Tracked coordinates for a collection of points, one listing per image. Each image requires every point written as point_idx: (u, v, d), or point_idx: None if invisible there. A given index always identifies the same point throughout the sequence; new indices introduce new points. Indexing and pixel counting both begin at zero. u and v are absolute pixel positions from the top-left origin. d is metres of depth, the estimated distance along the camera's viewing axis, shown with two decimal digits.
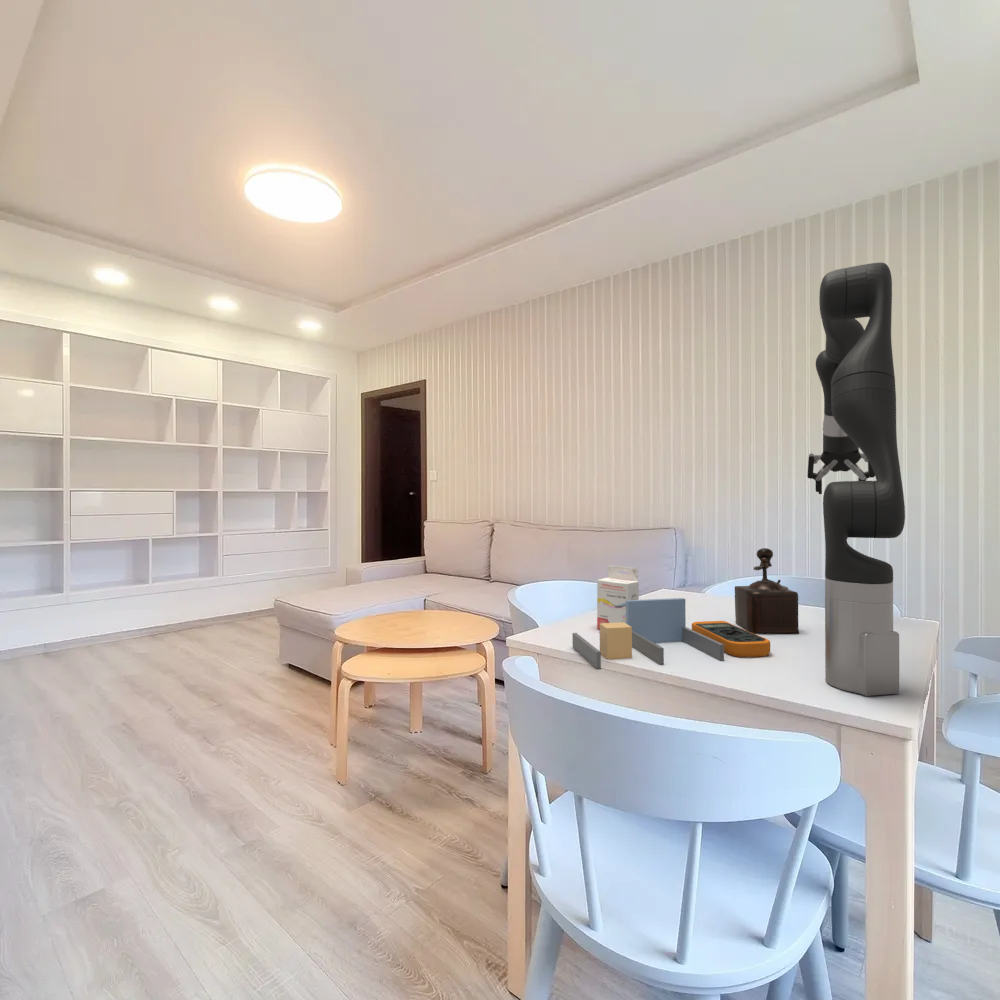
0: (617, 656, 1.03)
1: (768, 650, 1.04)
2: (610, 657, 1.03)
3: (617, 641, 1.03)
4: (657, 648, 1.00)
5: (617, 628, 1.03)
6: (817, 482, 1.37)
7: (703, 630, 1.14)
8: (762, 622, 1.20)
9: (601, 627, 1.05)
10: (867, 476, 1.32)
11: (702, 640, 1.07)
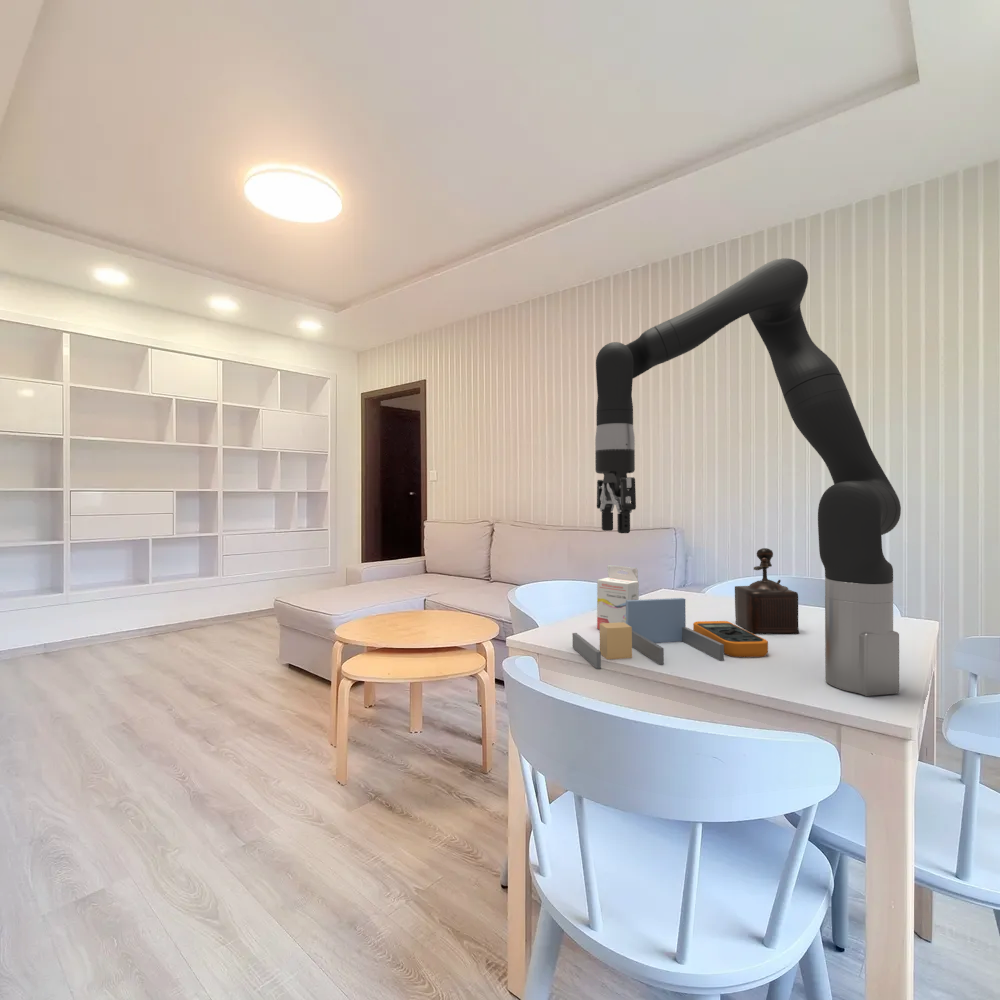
0: (617, 656, 1.03)
1: (765, 650, 1.04)
2: (610, 657, 1.03)
3: (616, 641, 1.03)
4: (657, 648, 1.00)
5: (617, 628, 1.03)
6: None
7: (703, 630, 1.15)
8: (762, 622, 1.20)
9: (601, 627, 1.05)
10: None
11: (702, 640, 1.07)
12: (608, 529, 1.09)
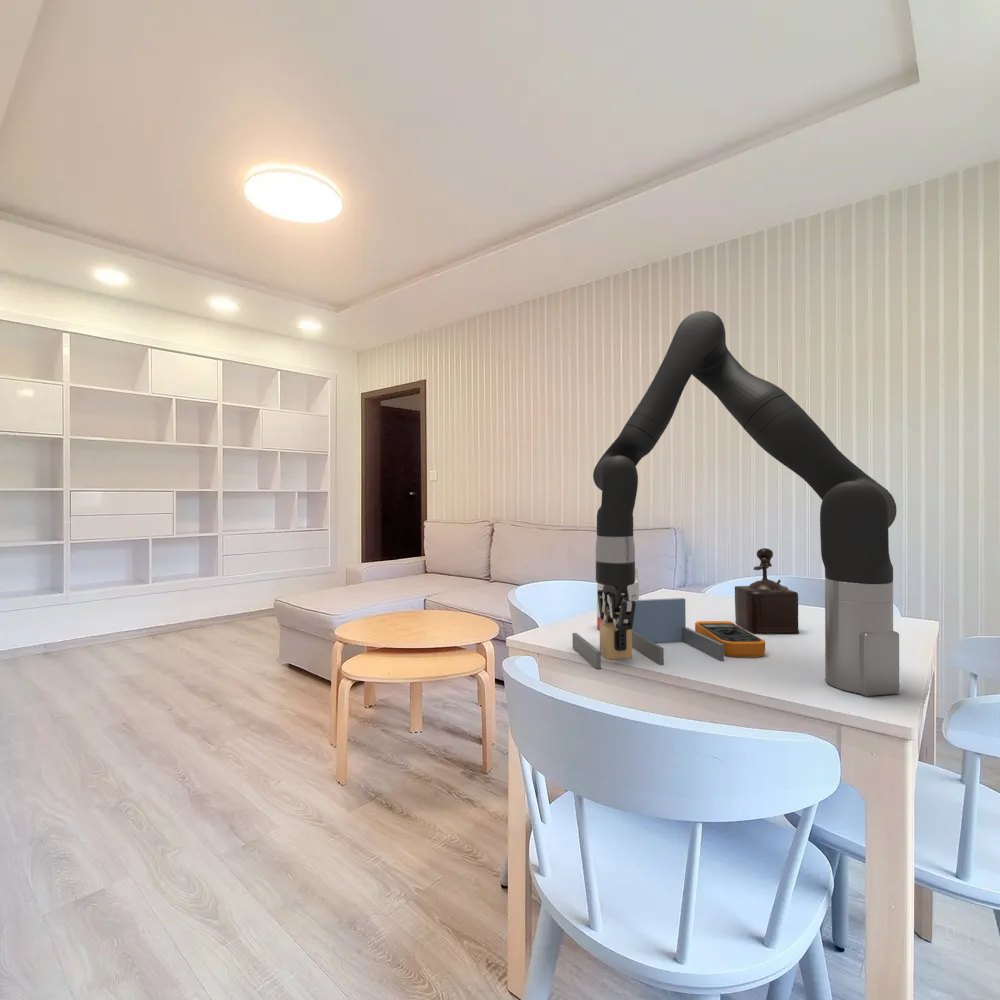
0: (617, 656, 1.03)
1: (762, 651, 1.03)
2: (610, 657, 1.03)
3: None
4: (657, 648, 1.00)
5: None
6: None
7: (703, 629, 1.15)
8: (762, 622, 1.20)
9: (601, 627, 1.05)
10: None
11: (702, 640, 1.07)
12: None
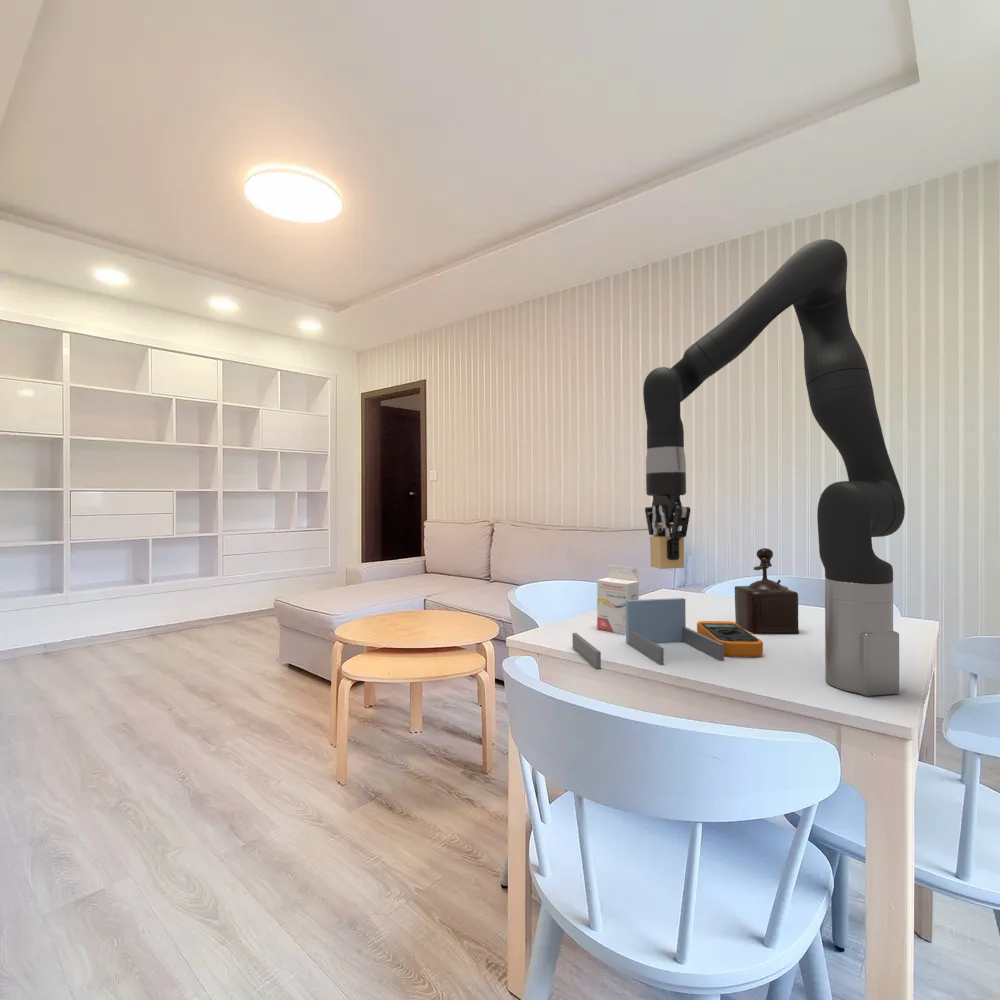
0: (670, 565, 1.04)
1: (759, 651, 1.03)
2: (663, 566, 1.04)
3: None
4: (657, 648, 1.00)
5: None
6: None
7: (703, 629, 1.15)
8: (762, 622, 1.20)
9: (652, 539, 1.06)
10: None
11: (702, 640, 1.07)
12: None
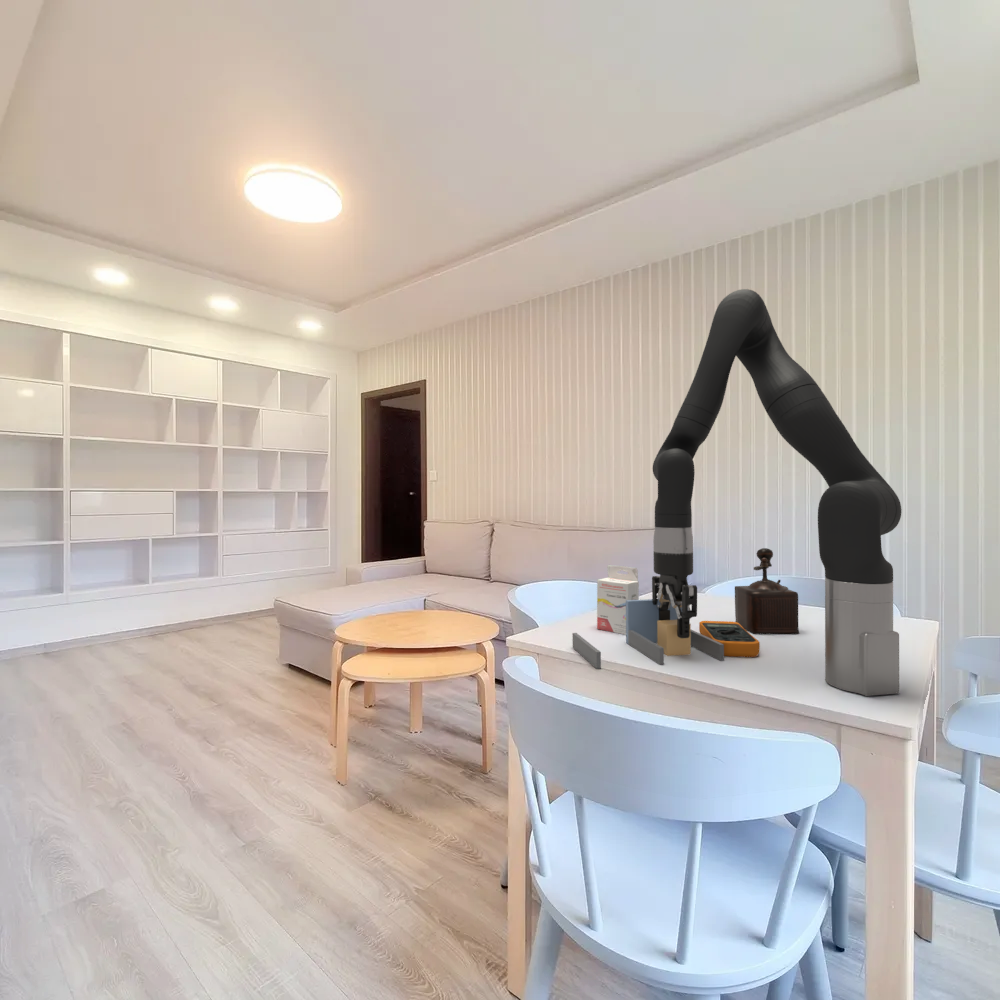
0: (676, 652, 1.05)
1: (754, 651, 1.03)
2: (669, 653, 1.05)
3: (676, 638, 1.05)
4: (657, 648, 1.00)
5: (676, 625, 1.05)
6: None
7: (704, 629, 1.16)
8: (762, 622, 1.20)
9: (659, 624, 1.08)
10: None
11: (702, 640, 1.07)
12: None
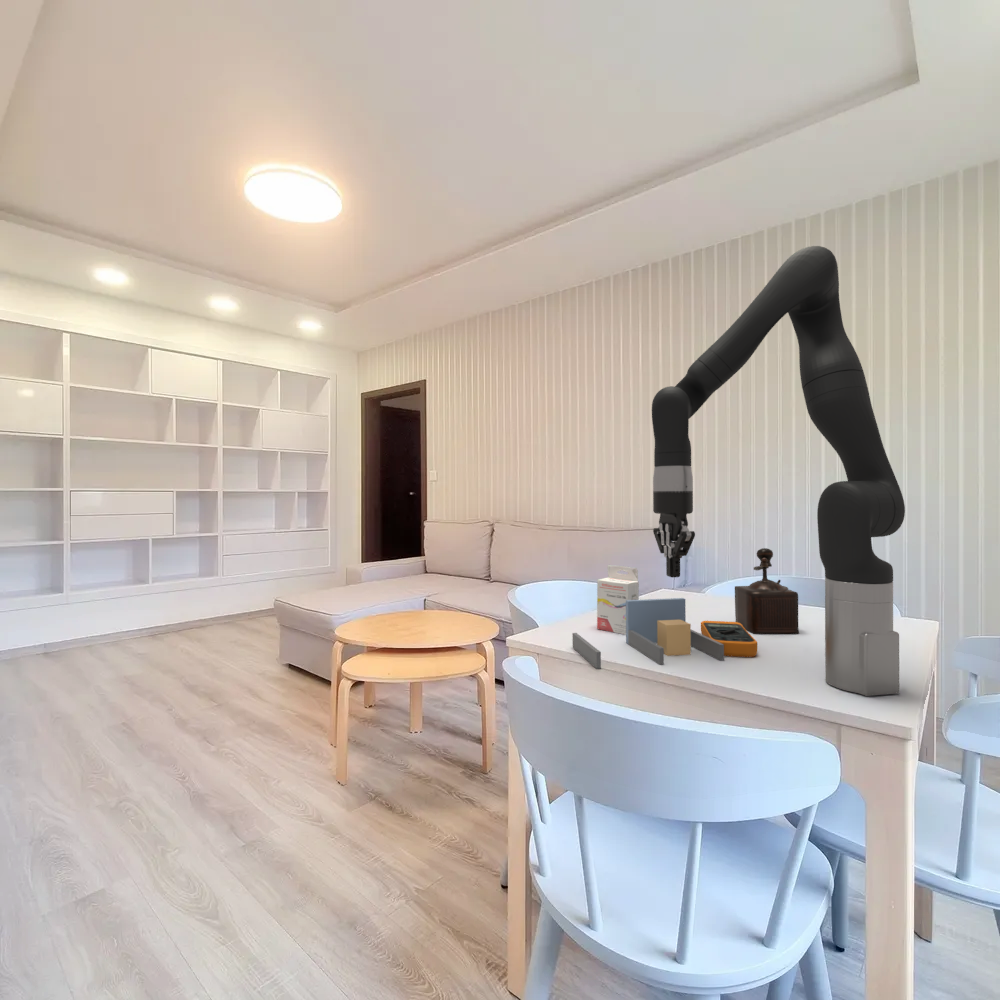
0: (676, 652, 1.05)
1: (752, 651, 1.03)
2: (669, 653, 1.05)
3: (676, 638, 1.05)
4: (657, 648, 1.00)
5: (676, 625, 1.05)
6: None
7: (704, 628, 1.16)
8: (762, 622, 1.20)
9: (659, 624, 1.08)
10: None
11: (702, 640, 1.07)
12: None
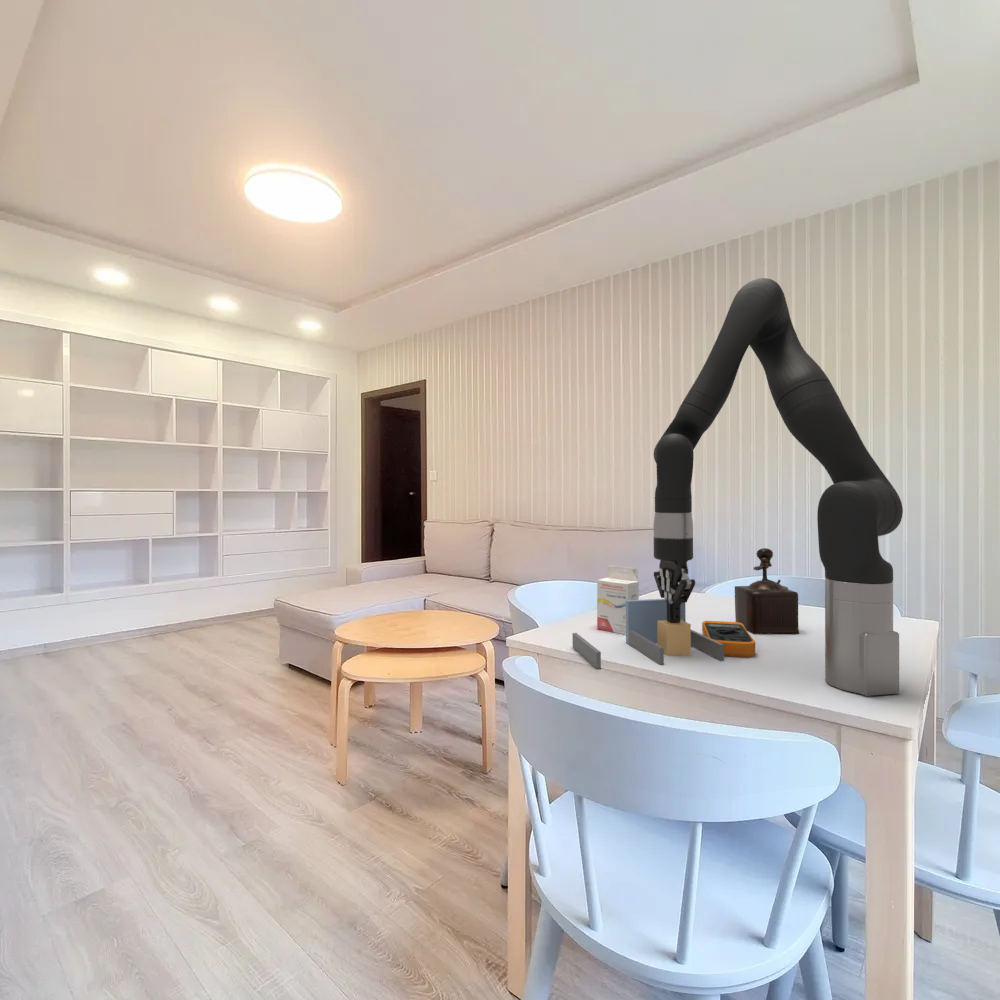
0: (676, 652, 1.05)
1: (749, 651, 1.03)
2: (669, 653, 1.05)
3: (676, 638, 1.05)
4: (657, 648, 1.00)
5: (676, 625, 1.05)
6: None
7: (704, 628, 1.16)
8: (762, 622, 1.20)
9: (659, 624, 1.08)
10: None
11: (702, 640, 1.07)
12: None
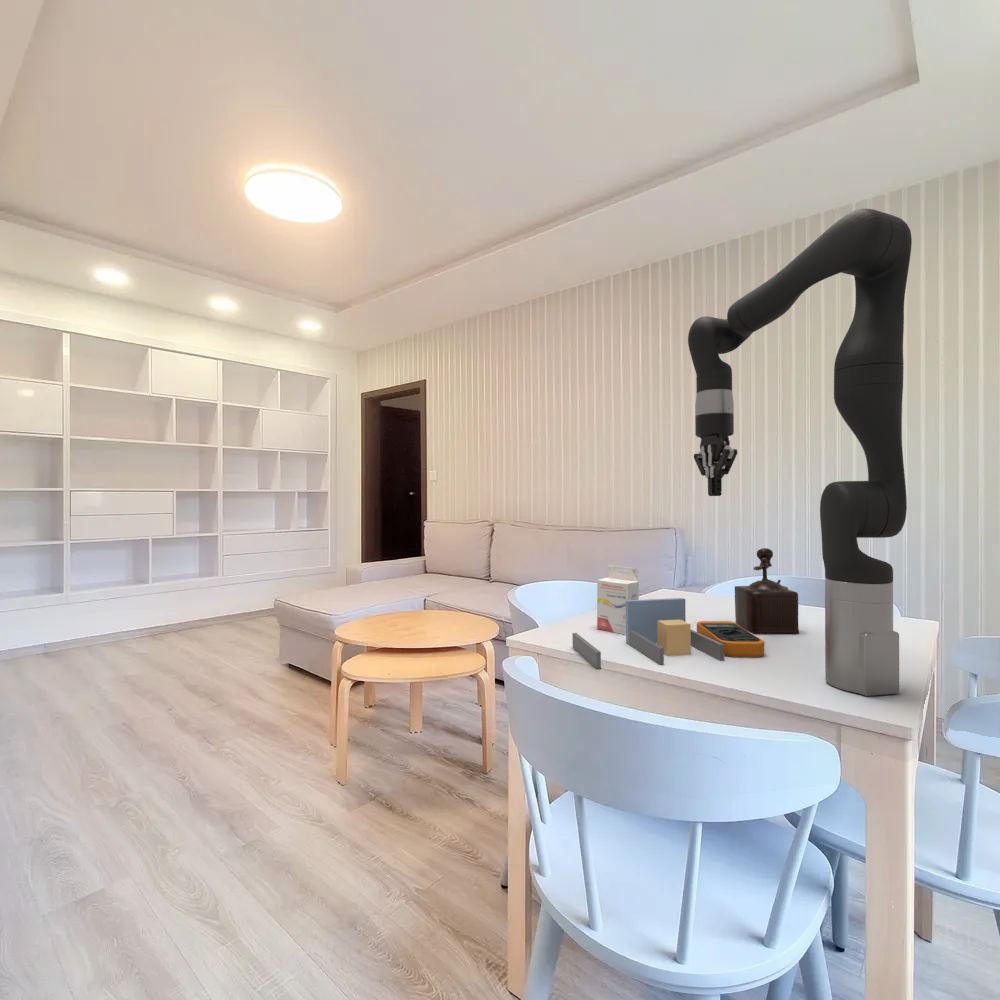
0: (676, 652, 1.05)
1: (761, 651, 1.03)
2: (670, 653, 1.05)
3: (676, 638, 1.05)
4: (657, 648, 1.00)
5: (676, 625, 1.05)
6: None
7: (704, 629, 1.15)
8: (762, 622, 1.20)
9: (659, 624, 1.08)
10: None
11: (702, 640, 1.07)
12: None
